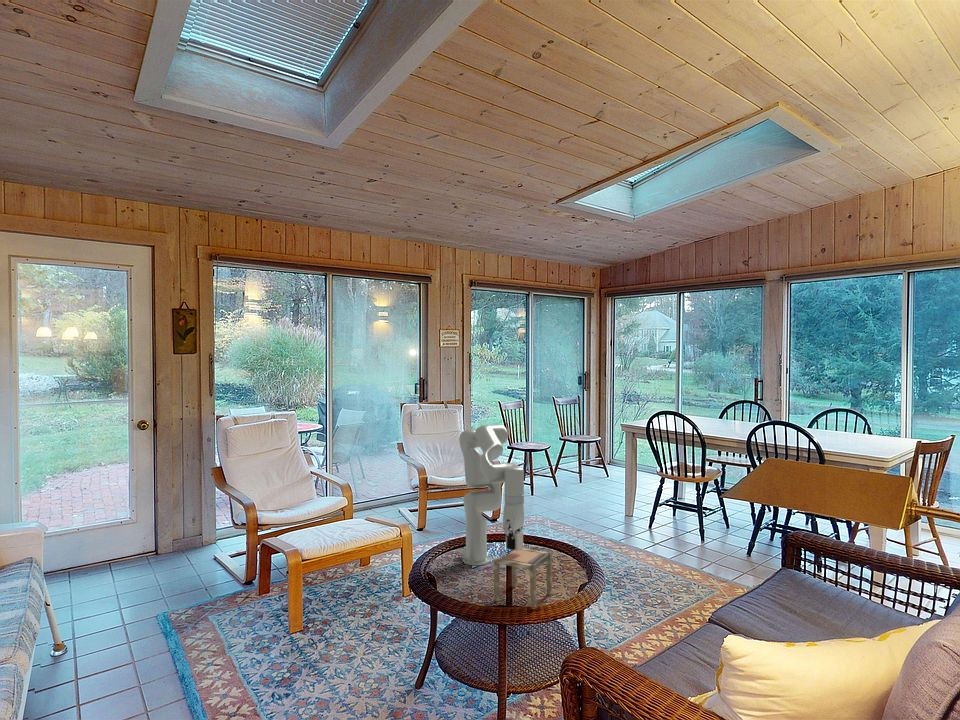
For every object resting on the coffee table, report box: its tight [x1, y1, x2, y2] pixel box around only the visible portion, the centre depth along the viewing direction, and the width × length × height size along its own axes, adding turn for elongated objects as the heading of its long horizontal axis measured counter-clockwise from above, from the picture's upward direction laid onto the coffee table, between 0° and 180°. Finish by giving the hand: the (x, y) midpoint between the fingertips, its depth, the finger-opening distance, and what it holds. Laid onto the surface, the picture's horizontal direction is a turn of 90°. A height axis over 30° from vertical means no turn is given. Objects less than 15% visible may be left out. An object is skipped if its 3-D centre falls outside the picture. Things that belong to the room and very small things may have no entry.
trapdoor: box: [501, 550, 544, 565], centre depth 202 cm, size 12×12×1 cm
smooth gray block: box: [505, 530, 524, 551], centre depth 205 cm, size 5×5×6 cm
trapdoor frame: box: [493, 547, 553, 608], centre depth 202 cm, size 17×17×16 cm
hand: (514, 546), depth 204 cm, fingers closed on smooth gray block, 5 cm apart
